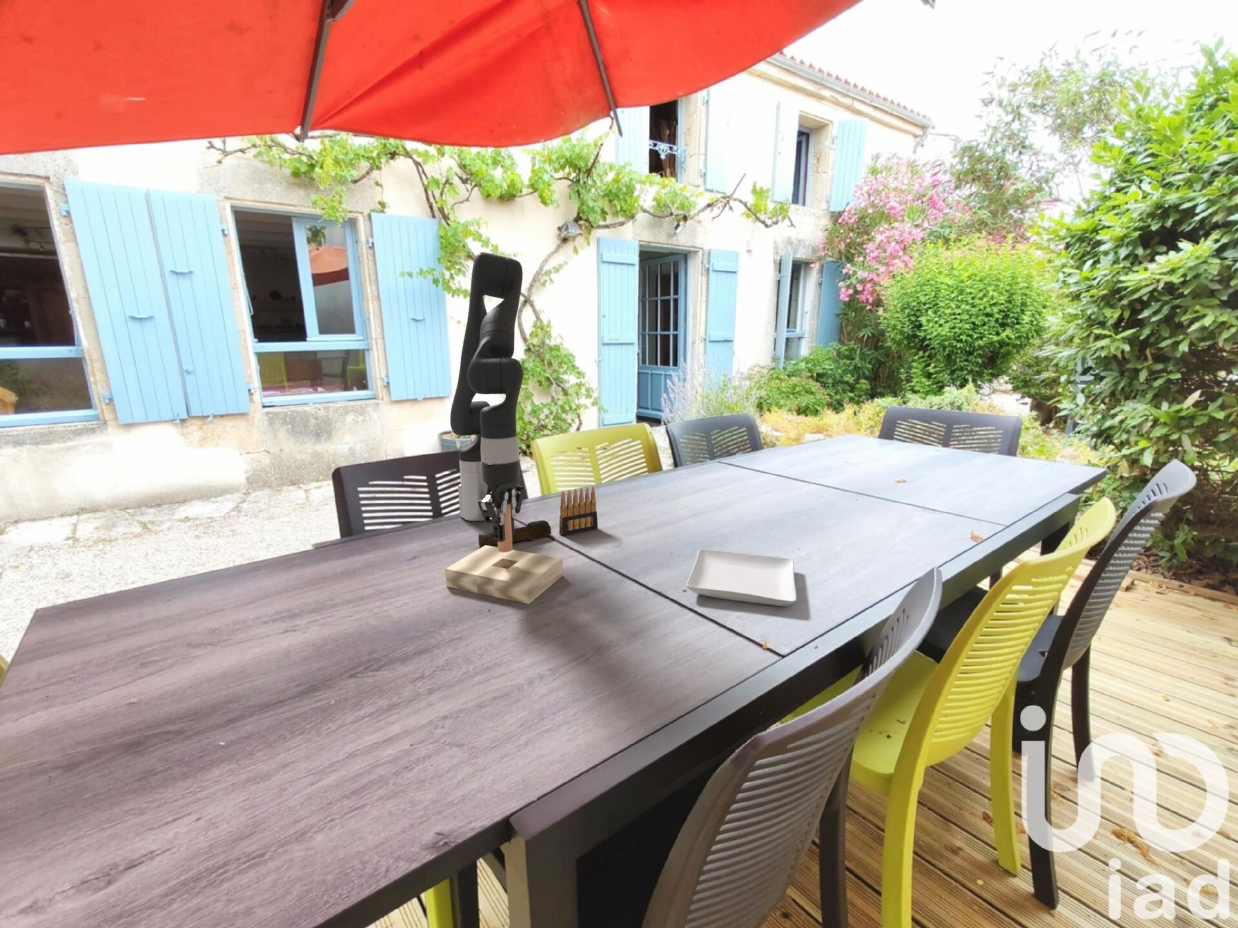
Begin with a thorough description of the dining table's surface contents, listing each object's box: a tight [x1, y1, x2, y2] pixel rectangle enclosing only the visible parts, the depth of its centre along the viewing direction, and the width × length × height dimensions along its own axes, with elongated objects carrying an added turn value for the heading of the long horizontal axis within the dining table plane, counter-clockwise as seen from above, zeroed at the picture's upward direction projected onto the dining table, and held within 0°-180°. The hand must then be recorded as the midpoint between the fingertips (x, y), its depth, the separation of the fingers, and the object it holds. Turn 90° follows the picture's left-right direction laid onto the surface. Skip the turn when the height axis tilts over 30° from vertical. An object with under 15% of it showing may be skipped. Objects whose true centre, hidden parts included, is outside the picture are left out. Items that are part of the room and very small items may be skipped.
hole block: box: [444, 545, 564, 605], centre depth 116 cm, size 20×14×4 cm
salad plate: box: [685, 548, 798, 607], centre depth 115 cm, size 21×21×3 cm
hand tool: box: [478, 519, 552, 549], centre depth 138 cm, size 19×4×5 cm, turn 119°
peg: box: [496, 503, 514, 552], centre depth 114 cm, size 3×3×10 cm
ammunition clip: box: [558, 486, 599, 537], centre depth 145 cm, size 11×2×12 cm, turn 121°
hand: (504, 537), depth 115 cm, fingers closed on peg, 3 cm apart
